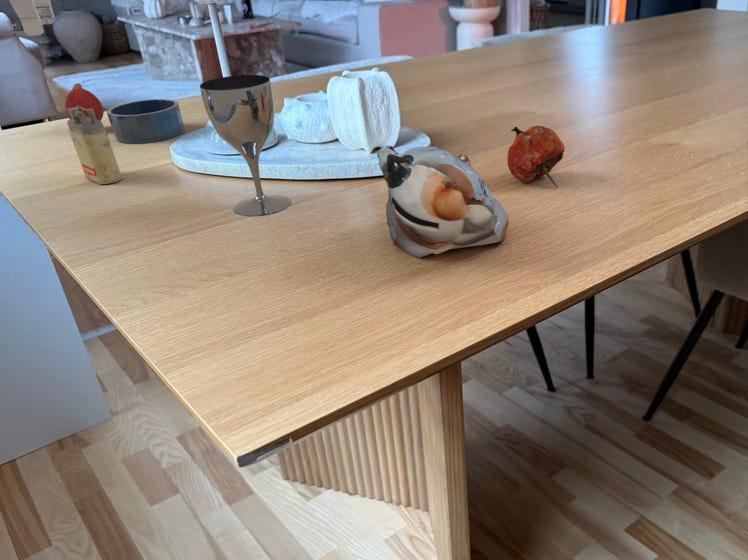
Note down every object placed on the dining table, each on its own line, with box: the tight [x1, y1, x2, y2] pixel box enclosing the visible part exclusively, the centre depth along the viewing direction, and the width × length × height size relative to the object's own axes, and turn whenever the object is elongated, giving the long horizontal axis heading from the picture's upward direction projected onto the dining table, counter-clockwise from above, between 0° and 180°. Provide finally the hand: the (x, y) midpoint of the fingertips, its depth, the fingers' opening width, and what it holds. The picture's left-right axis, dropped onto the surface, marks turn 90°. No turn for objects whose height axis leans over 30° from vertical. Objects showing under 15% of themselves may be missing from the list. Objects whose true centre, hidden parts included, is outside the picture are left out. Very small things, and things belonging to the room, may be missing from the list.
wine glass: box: [199, 74, 292, 217], centre depth 85 cm, size 8×8×15 cm
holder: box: [106, 98, 186, 145], centre depth 119 cm, size 11×11×4 cm
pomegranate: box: [506, 125, 565, 188], centre depth 91 cm, size 7×7×10 cm
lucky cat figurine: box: [376, 145, 510, 259], centre depth 73 cm, size 15×12×14 cm
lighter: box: [66, 106, 123, 185], centre depth 99 cm, size 7×4×10 cm, turn 49°
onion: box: [64, 82, 105, 122], centre depth 121 cm, size 6×6×8 cm
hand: (42, 29), depth 81 cm, fingers open, 8 cm apart
